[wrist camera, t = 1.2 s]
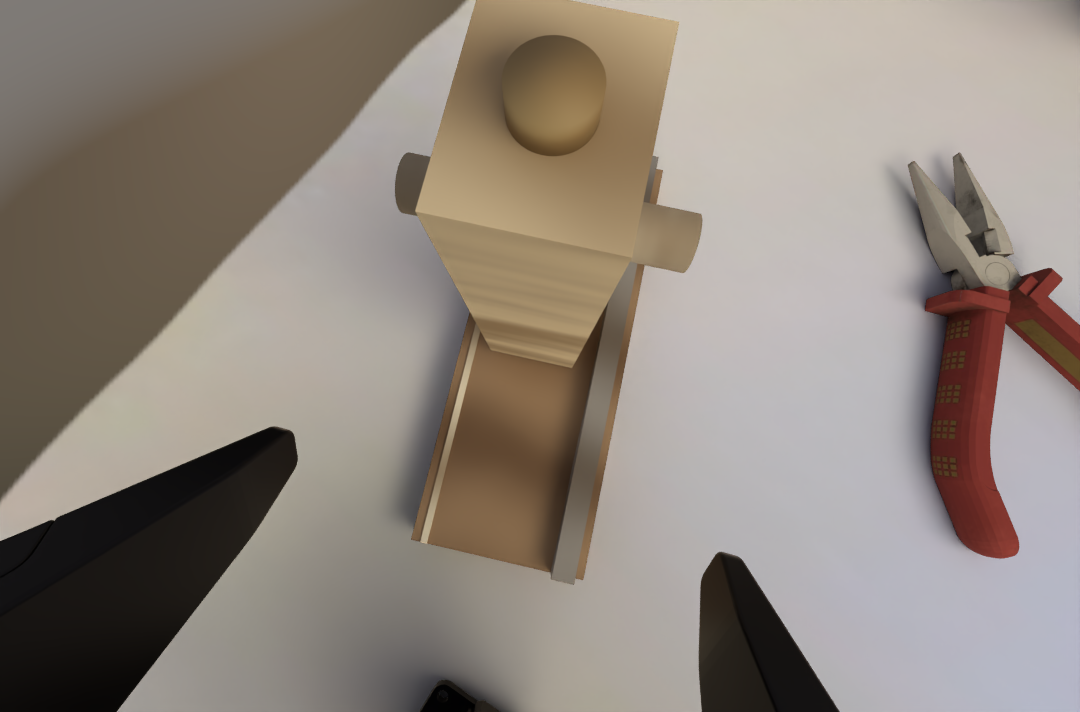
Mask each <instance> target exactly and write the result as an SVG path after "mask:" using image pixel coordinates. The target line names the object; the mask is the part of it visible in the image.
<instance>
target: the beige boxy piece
mask: <svg viewBox="0 0 1080 712" xmlns="http://www.w3.org/2000/svg"><path fill="white" fill-rule="evenodd" d="M678 25H679V22H676V21H671V20H666V19H661V18H656V17H651V16H646V15H641V14H636V13H631V12H626V11H621V10H616V9H611V8H606V7H601V6H596V5H591V4H586V3H581V2H576V1H571V0H476V3H475V6H474V10H473V13H472V17H471V20H470V24H469V27H468V30H467V34H466V37H465V41H464V44H463V48H462V51H461V55H460V58H459V61H458V65H457V68H456V72H455V75H454V79H453V82H452V86H451V89H450V93H449V96H448V99H447V103H446V106H445V110H444V113H443V117H442V120H441V124H440V127H439V130H438V134H437V137H436V141H435V144H434V148H433V151H432V155H431V157H428V156H423V155H419V154H414V153H406V154H405V155H404V156H403V157H402V159H401V161H400V163H399V166H398V170H397V174H396V181H395V197H396V203H397V206H398V209H399V210H400V211H401V212H402V213H405V214H410V215H415V216H418V218H419V219H420V221H421V223H422V225H423V227H424V228H425V230H426V232H427V234H428V236H429V238H430V239H431V241H432V243H433V245H434V247H435V249H436V250H437V252H438V254H439V256H440V258H441V260H442V261H443V263H444V265H445V267H446V269H447V271H448V272H449V274H450V276H451V278H452V280H453V282H454V283H455V285H456V287H457V289H458V291H459V293H460V294H461V296H462V298H463V300H464V302H465V304H466V305H467V307H468V309H469V311H470V313H471V315H472V316H473V318H474V320H475V322H476V324H477V326H478V327H479V329H480V331H481V333H482V335H483V337H484V338H485V340H486V342H487V344H488V346H489V348H490V349H491V350H492V351H497V352H501V353H506V354H510V355H515V356H519V357H524V358H528V359H533V360H537V361H542V362H546V363H551V364H555V365H560V366H564V367H569V368H572V367H573V365H574V363H575V362H576V360H577V358H578V356H579V354H580V352H581V351H582V349H583V347H584V345H585V343H586V341H587V340H588V338H589V336H590V334H591V332H592V330H593V329H594V327H595V325H596V323H597V321H598V319H599V317H600V316H601V314H602V312H603V310H604V308H605V306H606V305H607V303H608V301H609V299H610V297H611V295H612V294H613V292H614V290H615V288H616V286H617V284H618V283H619V281H620V279H621V277H622V275H623V273H624V272H625V270H626V268H627V266H628V264H629V262H634V263H638V264H643V265H647V266H652V267H657V268H661V269H666V270H671V271H675V272H680V273H684V272H686V270H687V269H688V268H689V266H690V264H691V262H692V260H693V257H694V255H695V252H696V249H697V246H698V243H699V239H700V235H701V229H702V215H701V214H699V213H694V212H689V211H684V210H680V209H675V208H670V207H665V206H661V205H656V204H651V203H646V202H643V200H644V195H645V190H646V185H647V180H648V175H649V170H650V165H651V160H652V155H653V150H654V145H655V140H656V135H657V130H658V125H659V120H660V115H661V110H662V105H663V100H664V95H665V90H666V85H667V80H668V75H669V70H670V65H671V60H672V55H673V50H674V45H675V40H676V35H677V30H678Z"/></svg>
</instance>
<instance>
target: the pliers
mask: <svg viewBox="0 0 1080 712" xmlns="http://www.w3.org/2000/svg"><path fill="white" fill-rule="evenodd" d="M953 166H954V183H955V200H956V208H955V207H954V206H953V205H952V204H951V203H950V202H949V200H948V199H947V198H946V197H945V196H944V195H943V193H942V192H941V191H940V190H939V189H938V188H937V187H936V185H935V184H934V183H933V182H932V181H931V180H930V178H929V177H928V176H927V175H926V174H925V173H924V172H923V170H922V169H921V168H920V167H919V166H918V165H917V163H916V162H915V161H913V162H911V163H910V164H908V168H909V172H910V176H911V180H912V183H913V187H914V191H915V195H916V198H917V202H918V206H919V210H920V213H921V217H922V221H923V225H924V228H925V232H926V236H927V240H928V243H929V247H930V249H931V251H932V254H933V256H934V258H935V260H936V263H937V265H938V267H939V268H940V270H941V272H942V273H946V272H949V271H952V270H955V269H956V270H955V271H954V273H953V274H952V277H951V284H952V289H953V291H949V292H946V293H943V294H940V295H937V296H934V297H932V298H929V299H927V300H926V306H925V311H928V312H931V313H935V314H939V315H942V316H946V317H948V321H947V328H946V334H945V341H944V348H943V354H942V361H941V367H940V374H939V380H938V387H937V393H936V400H935V406H934V413H933V419H932V426H931V464H932V469H933V475H934V479H935V481H936V484H937V486H938V489H939V491H940V494H941V496H942V498H943V501H944V503H945V506H946V508H947V511H948V513H949V516H950V518H951V521H952V523H953V526H954V528H955V530H956V533H957V535H958V537H959V539H960V540H961V541H962V542H963V544H964V545H966V546H967V547H968V548H969V549H971V550H972V551H974V552H976V553H978V554H981V555H983V556H987V557H992V558H1000V559H1001V558H1008V557H1012V556H1015V555H1016V554H1017V553H1018V551H1019V541H1018V537H1017V534H1016V532H1015V530H1014V527H1013V525H1012V522H1011V520H1010V518H1009V515H1008V513H1007V510H1006V508H1005V506H1004V503H1003V501H1002V498H1001V496H1000V493H999V491H998V490H997V487H996V484H995V481H994V477H993V472H992V467H991V458H990V434H991V425H992V418H993V411H994V403H995V396H996V388H997V381H998V374H999V366H1000V359H1001V351H1002V344H1003V336H1004V329H1005V323H1006V324H1007V325H1008V326H1009V327H1010V328H1011V329H1012V330H1013V331H1014V332H1015V333H1016V334H1018V335H1019V336H1020V337H1021V338H1022V339H1023V340H1024V341H1025V342H1026V343H1027V344H1029V345H1030V346H1031V347H1032V348H1033V349H1034V350H1035V351H1036V352H1037V353H1038V354H1040V355H1041V356H1042V357H1043V358H1044V359H1045V360H1046V361H1047V362H1048V363H1049V364H1051V365H1052V366H1053V367H1054V368H1055V369H1056V370H1057V371H1058V372H1059V373H1060V374H1061V375H1063V376H1064V377H1065V378H1066V379H1067V380H1068V381H1069V382H1070V383H1071V384H1072V385H1074V386H1075V387H1076V388H1077V389H1078V390H1079V391H1080V325H1079V324H1078V323H1077V322H1076V321H1074V320H1073V319H1072V318H1071V317H1070V316H1069V315H1068V314H1067V313H1066V312H1064V311H1063V310H1062V309H1061V308H1060V307H1059V306H1058V305H1057V304H1055V303H1054V302H1053V301H1052V300H1051V299H1050V298H1049V297H1048V295H1049V294H1050V293H1051V292H1052V291H1053V290H1054V289H1055V288H1056V287H1057V286H1058V285H1059V284H1060V282H1061V281H1062V277H1061V276H1060V275H1059V274H1057V273H1056V272H1055V271H1054V270H1053V269H1052V268H1047V269H1043V270H1040V271H1037V272H1033V273H1030V274H1027V275H1024V276H1020V275H1019V273H1018V272H1017V270H1016V269H1015V267H1014V265H1013V264H1012V263H1011V262H1010V261H1009V260H1008V259H1007V258H1005V257H1007V256H1009V255H1012V254H1014V252H1013V248H1012V244H1011V242H1010V239H1009V236H1008V234H1007V232H1006V229H1005V227H1004V225H1003V223H1002V221H1001V220H1000V218H999V216H998V215H997V213H996V211H995V210H994V208H993V206H992V205H991V203H990V201H989V200H988V198H987V197H986V195H985V193H984V192H983V190H982V188H981V187H980V185H979V183H978V182H977V180H976V178H975V177H974V175H973V173H972V172H971V170H970V168H969V167H968V165H967V163H966V162H965V160H964V158H963V157H962V155H961V153H958V154H956V155H955V156H954V157H953Z"/></svg>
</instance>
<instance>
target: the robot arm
mask: <svg viewBox="0 0 1080 712" xmlns="http://www.w3.org/2000/svg"><path fill="white" fill-rule="evenodd" d="M297 461H298V455H297V449H296V443H295V437H294V434H293V432H292V431H290V430H287V429H283V428H280V427H269V428H267V429H264V430H262V431H260V432H257V433H255V434H252V435H250V436H248V437H245V438H243V439H241V440H238V441H236V442H234V443H231V444H229V445H227V446H224V447H222V448H220V449H217V450H215V451H212V452H210V453H208V454H205V455H203V456H201V457H198V458H196V459H194V460H191V461H189V462H187V463H184V464H182V465H180V466H177V467H175V468H172V469H170V470H168V471H165V472H163V473H161V474H158V475H156V476H154V477H151V478H149V479H147V480H144V481H142V482H140V483H137V484H135V485H132V486H130V487H128V488H125V489H123V490H121V491H118V492H116V493H114V494H111V495H109V496H107V497H104V498H102V499H100V500H97V501H95V502H92V503H90V504H88V505H85V506H83V507H81V508H78V509H76V510H74V511H71V512H69V513H67V514H64V515H62V516H60V517H58V518H56V519H55V521H54V520H50V521H47V522H45V523H43V524H40V525H38V526H36V527H33V528H31V529H29V530H26V531H24V532H22V533H19V534H17V535H14V536H12V537H9V538H7V539H4V540H2V541H0V712H117V711H118V709H119V708H120V707H121V705H122V704H123V703H124V702H125V700H126V699H127V698H128V696H129V695H130V694H131V692H132V691H133V690H134V689H135V687H136V686H137V685H138V683H139V682H140V681H141V679H142V678H143V677H144V676H145V674H146V673H147V672H148V670H149V669H150V668H151V667H152V665H153V664H154V663H155V661H156V660H157V659H158V657H159V656H160V655H161V654H162V652H163V651H164V650H165V648H166V647H167V646H168V645H169V643H170V642H171V641H172V639H173V638H174V637H175V635H176V634H177V633H178V632H179V630H180V629H181V628H182V626H183V625H184V624H185V623H186V621H187V620H188V619H189V617H190V616H191V615H192V613H193V612H194V611H195V610H196V608H197V607H198V606H199V604H200V603H201V602H202V601H203V599H204V598H205V597H206V595H207V594H208V593H209V591H210V590H211V589H212V588H213V586H214V585H215V584H216V582H217V581H218V580H219V579H220V577H221V576H222V575H223V573H224V572H225V571H226V569H227V568H228V567H229V566H230V564H231V563H232V562H233V560H234V559H235V558H236V557H237V555H238V554H239V553H240V551H241V550H242V549H243V547H244V546H245V545H246V544H247V542H248V541H249V539H250V538H251V537H252V535H253V534H254V533H255V531H256V530H257V528H258V527H259V525H260V524H261V522H262V521H263V519H264V517H265V516H266V514H267V513H268V511H269V509H270V508H271V506H272V505H273V503H274V501H275V500H276V498H277V497H278V495H279V493H280V492H281V490H282V489H283V487H284V485H285V484H286V482H287V481H288V479H289V477H290V476H291V474H292V473H293V471H294V469H295V467H296V465H297ZM699 680H700V693H701V705H702V712H840V711H839V710H838V708H837V707H836V705H835V704H834V702H833V700H832V699H831V697H830V696H829V694H828V693H827V691H826V690H825V688H824V686H823V685H822V683H821V682H820V680H819V679H818V677H817V676H816V674H815V672H814V671H813V669H812V668H811V666H810V665H809V663H808V661H807V660H806V658H805V657H804V655H803V654H802V652H801V651H800V649H799V647H798V646H797V644H796V643H795V641H794V640H793V638H792V636H791V635H790V633H789V632H788V630H787V629H786V627H785V626H784V624H783V622H782V621H781V619H780V618H779V616H778V615H777V613H776V611H775V610H774V608H773V607H772V605H771V604H770V602H769V601H768V599H767V597H766V596H765V594H764V593H763V591H762V590H761V588H760V587H759V585H758V583H757V582H756V580H755V579H754V577H753V576H752V574H751V572H750V571H749V569H748V568H747V566H746V565H745V563H744V562H743V560H742V559H741V558H739V557H738V556H735V555H731V554H728V553H724V552H719V553H717V554H716V555H715V557H714V558H713V560H712V561H711V563H710V565H709V566H708V568H707V569H706V571H705V572H704V574H703V577H702V580H701V590H700V629H699ZM442 690H444V691H446V692H447V693H448V697H446V698H443V697H441V696H440V695H439V692H440V691H442ZM419 712H500V711H499V710H497V709H496V708H494V707H493V706H492V705H490V704H489V703H487V702H486V701H484V700H480V701H477V700H476V699H475V698H473V697H472V696H470V695H469V694H468V693H466V692H465V691H463V690H462V689H461V688H459V687H458V686H456V685H455V684H454V683H452V682H451V681H449V680H441V681H439V682H438V683H437V684H436V685H435V687H434V688H433V690H432V692H431V693H430V695H429V697H428V698H427V700H426V702H425V703H424V705H423V706H422V708H421V710H420V711H419Z"/></svg>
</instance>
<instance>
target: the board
mask: <svg viewBox="0 0 1080 712" xmlns="http://www.w3.org/2000/svg"><path fill="white" fill-rule="evenodd" d="M657 162H658V157H656V156H652V160H651V165H650V170H649V175H648V180H647V185H646V190H645V195H644V200H643V202H646V203H651V204H656V203H657V198H658V193H659V188H660V183H661V178H662V172H663V170H658V169H656V167H657ZM643 270H644V265H643V264H638V263H634V262H629V264H628V266H627V268H626V270H625V272H624V273H623V275H622V277H621V279H620V281H619V283H618V284H617V286H616V288H615V290H614V292H613V294H612V295H611V297H610V299H609V301H608V303H607V305H606V306H605V308H604V310H603V312H602V314H601V316H600V317H599V319H598V321H597V323H596V325H595V327H594V329H593V330H592V332H591V334H590V336H589V338H588V340H587V341H586V343H585V345H584V347H583V349H582V351H581V352H580V354H579V356H578V358H577V360H576V362H575V363H574V365H573V367H572V368H569V367H564V366H560V365H555V364H551V363H546V362H542V361H537V360H533V359H528V358H524V357H519V356H515V355H510V354H506V353H501V352H497V351H492V350H491V349H490V348H489V346H488V344H487V342H486V340H485V338H484V337H483V335H482V333H481V331H480V329H479V327H478V326H477V324H476V322H475V320H474V318H473V316H472V315H471V313H469V317H468V321H467V325H466V329H465V332H464V336H463V340H462V344H461V348H460V352H459V356H458V360H457V363H456V367H455V371H454V375H453V379H452V383H451V387H450V391H449V394H448V398H447V402H446V406H445V410H444V414H443V418H442V422H441V425H440V429H439V433H438V437H437V441H436V445H435V449H434V453H433V457H432V460H431V464H430V468H429V472H428V476H427V480H426V484H425V488H424V491H423V495H422V499H421V503H420V507H419V511H418V515H417V519H416V522H415V526H414V530H413V534H412V538H411V540H415V541H420V542H421V543H425V544H427V543H428V544H432V545H436V546H441V547H445V548H449V549H453V550H458V551H462V552H466V553H470V554H475V555H479V556H483V557H487V558H492V559H496V560H500V561H504V562H508V563H513V564H517V565H521V566H525V567H530V568H534V569H538V570H542V571H547V572H551V579H552V580H556V581H560V582H564V583H569V584H573V585H574V583H575V578H576V579H580V580H583V578H584V573H585V568H586V563H587V558H588V553H589V547H590V542H591V537H592V532H593V527H594V522H595V517H596V511H597V506H598V501H599V496H600V491H601V486H602V481H603V475H604V470H605V465H606V460H607V455H608V450H609V445H610V439H611V434H612V429H613V424H614V419H615V414H616V409H617V404H618V398H619V393H620V388H621V383H622V378H623V373H624V368H625V362H626V357H627V352H628V347H629V342H630V337H631V332H632V326H633V321H634V316H635V311H636V306H637V301H638V296H639V291H640V285H641V280H642V275H643Z"/></svg>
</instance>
